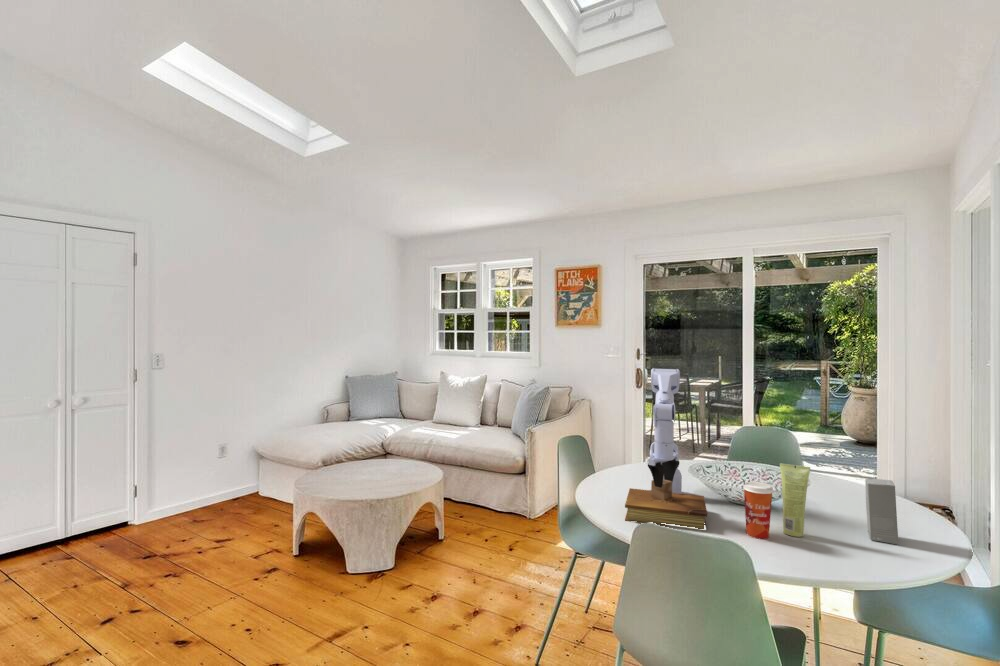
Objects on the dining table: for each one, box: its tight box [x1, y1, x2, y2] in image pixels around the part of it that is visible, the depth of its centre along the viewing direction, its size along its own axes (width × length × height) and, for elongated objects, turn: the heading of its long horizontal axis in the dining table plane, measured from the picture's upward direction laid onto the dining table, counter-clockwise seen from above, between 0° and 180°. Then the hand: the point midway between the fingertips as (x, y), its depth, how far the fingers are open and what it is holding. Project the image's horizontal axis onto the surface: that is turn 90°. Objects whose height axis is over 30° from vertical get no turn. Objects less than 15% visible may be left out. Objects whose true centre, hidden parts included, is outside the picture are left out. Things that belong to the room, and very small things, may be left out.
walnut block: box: [650, 479, 672, 500], centre depth 162 cm, size 4×4×5 cm
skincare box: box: [864, 477, 899, 546], centre depth 144 cm, size 8×7×16 cm
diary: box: [624, 487, 708, 529], centre depth 160 cm, size 23×19×6 cm
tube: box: [779, 462, 811, 538], centre depth 146 cm, size 6×5×20 cm
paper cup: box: [742, 481, 775, 540], centre depth 145 cm, size 8×8×14 cm
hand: (663, 485), depth 162 cm, fingers open, 5 cm apart
